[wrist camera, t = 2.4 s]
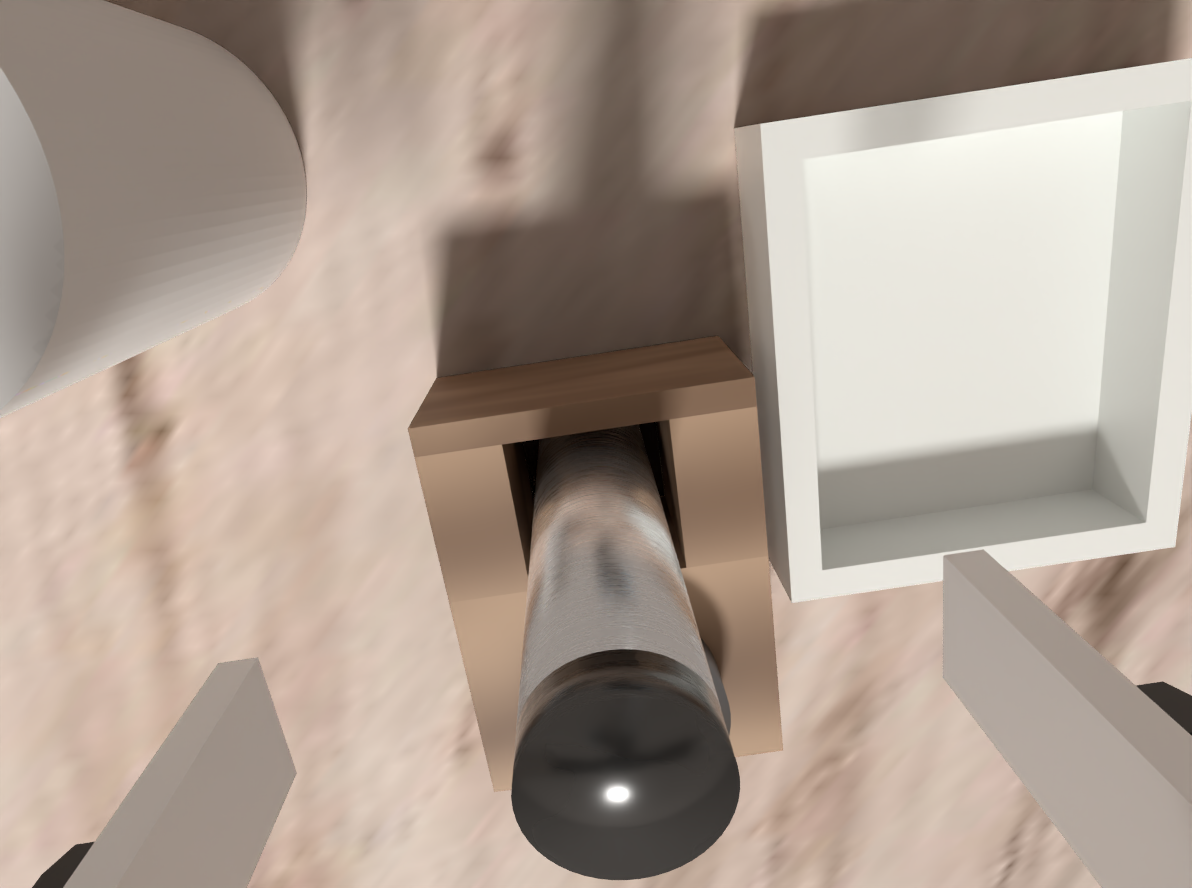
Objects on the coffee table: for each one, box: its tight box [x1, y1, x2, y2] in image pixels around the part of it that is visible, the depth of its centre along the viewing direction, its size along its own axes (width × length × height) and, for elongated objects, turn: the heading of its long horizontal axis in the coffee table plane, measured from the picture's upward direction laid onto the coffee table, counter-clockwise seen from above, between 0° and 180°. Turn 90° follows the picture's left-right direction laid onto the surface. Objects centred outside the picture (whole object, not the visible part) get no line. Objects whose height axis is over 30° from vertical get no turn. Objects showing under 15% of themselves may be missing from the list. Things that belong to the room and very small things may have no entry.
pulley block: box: [408, 336, 783, 792], centre depth 23 cm, size 12×9×8 cm
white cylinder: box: [0, 0, 307, 418], centre depth 17 cm, size 8×8×12 cm
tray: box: [734, 58, 1192, 603], centre depth 24 cm, size 14×12×3 cm
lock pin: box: [511, 424, 740, 880], centre depth 19 cm, size 3×3×15 cm
